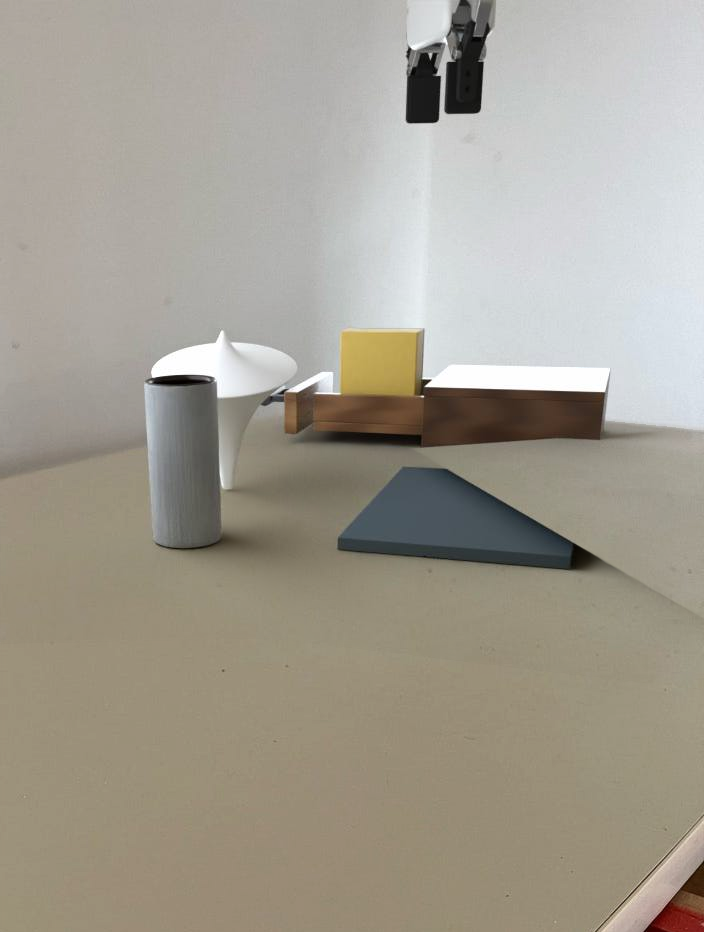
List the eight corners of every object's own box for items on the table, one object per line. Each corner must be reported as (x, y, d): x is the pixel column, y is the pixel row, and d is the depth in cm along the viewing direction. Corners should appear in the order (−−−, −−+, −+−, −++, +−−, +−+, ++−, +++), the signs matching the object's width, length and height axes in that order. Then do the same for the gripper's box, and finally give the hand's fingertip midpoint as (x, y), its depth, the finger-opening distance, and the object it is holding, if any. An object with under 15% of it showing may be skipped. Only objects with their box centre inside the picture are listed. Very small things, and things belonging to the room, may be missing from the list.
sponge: (339, 414, 96) (340, 331, 93) (348, 408, 99) (350, 327, 96) (413, 417, 94) (417, 332, 91) (421, 410, 97) (424, 328, 94)
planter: (221, 548, 66) (216, 384, 62) (150, 550, 66) (140, 386, 62) (222, 528, 70) (217, 373, 66) (155, 529, 70) (147, 375, 66)
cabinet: (420, 452, 90) (423, 386, 88) (447, 422, 101) (450, 364, 99) (597, 460, 85) (605, 392, 83) (603, 429, 96) (610, 368, 94)
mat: (402, 476, 82) (403, 466, 82) (587, 486, 77) (588, 476, 77) (337, 549, 65) (337, 537, 64) (569, 569, 60) (571, 556, 60)
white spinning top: (300, 505, 75) (300, 334, 70) (152, 508, 75) (142, 338, 70) (294, 472, 84) (294, 319, 79) (163, 475, 84) (155, 323, 80)
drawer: (244, 431, 96) (243, 390, 94) (285, 408, 106) (284, 370, 105) (431, 440, 90) (434, 396, 88) (454, 415, 100) (457, 375, 99)
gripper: (539, -136, 81) (521, 109, 87) (454, -78, 96) (444, 125, 103) (449, -138, 79) (437, 110, 86) (377, -79, 95) (372, 127, 102)
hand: (441, 118), depth 94 cm, fingers open, 9 cm apart
